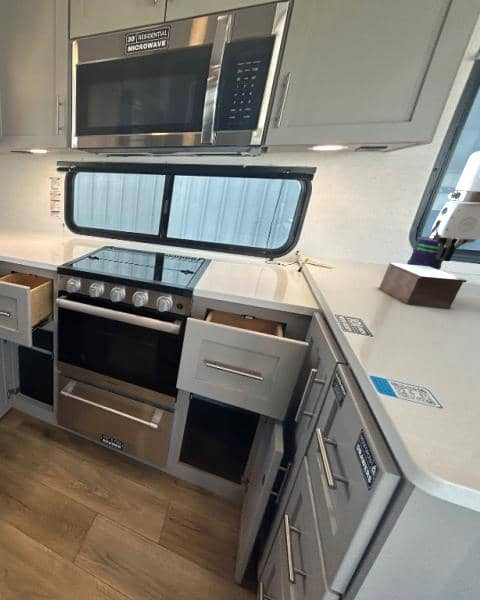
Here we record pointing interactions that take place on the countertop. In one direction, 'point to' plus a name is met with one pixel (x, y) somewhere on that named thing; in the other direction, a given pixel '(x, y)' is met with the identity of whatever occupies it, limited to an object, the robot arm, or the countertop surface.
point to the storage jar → (425, 253)
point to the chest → (419, 289)
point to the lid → (427, 272)
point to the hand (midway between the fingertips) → (442, 259)
